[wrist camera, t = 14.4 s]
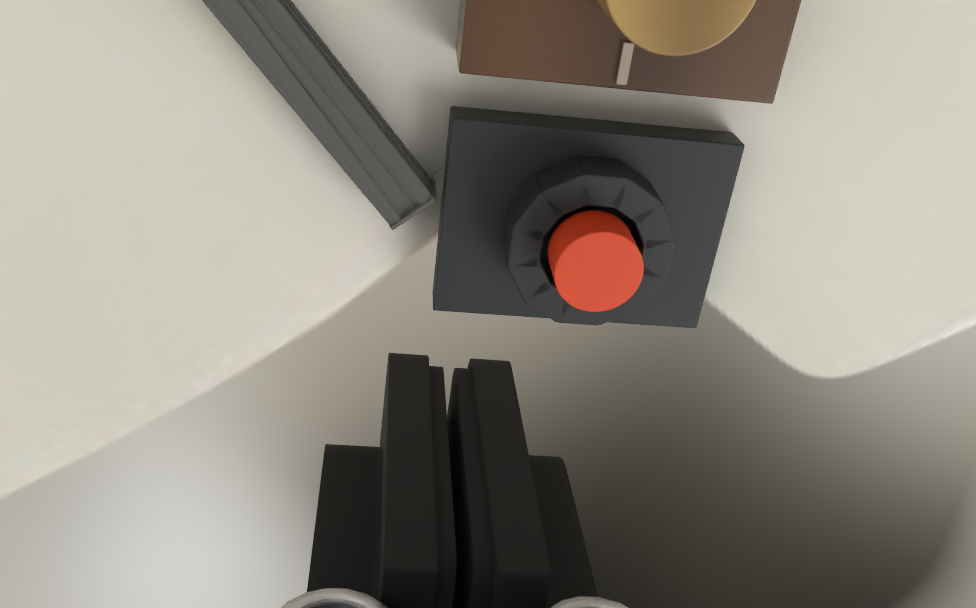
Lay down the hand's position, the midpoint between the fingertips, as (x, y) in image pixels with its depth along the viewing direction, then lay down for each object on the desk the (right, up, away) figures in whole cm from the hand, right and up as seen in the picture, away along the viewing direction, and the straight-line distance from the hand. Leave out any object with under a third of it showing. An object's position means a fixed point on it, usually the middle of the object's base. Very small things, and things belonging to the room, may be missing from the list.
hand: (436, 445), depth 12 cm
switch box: (+4, +6, +23) cm, 24 cm away
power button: (+5, +4, +21) cm, 22 cm away
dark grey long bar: (-7, +13, +19) cm, 24 cm away
